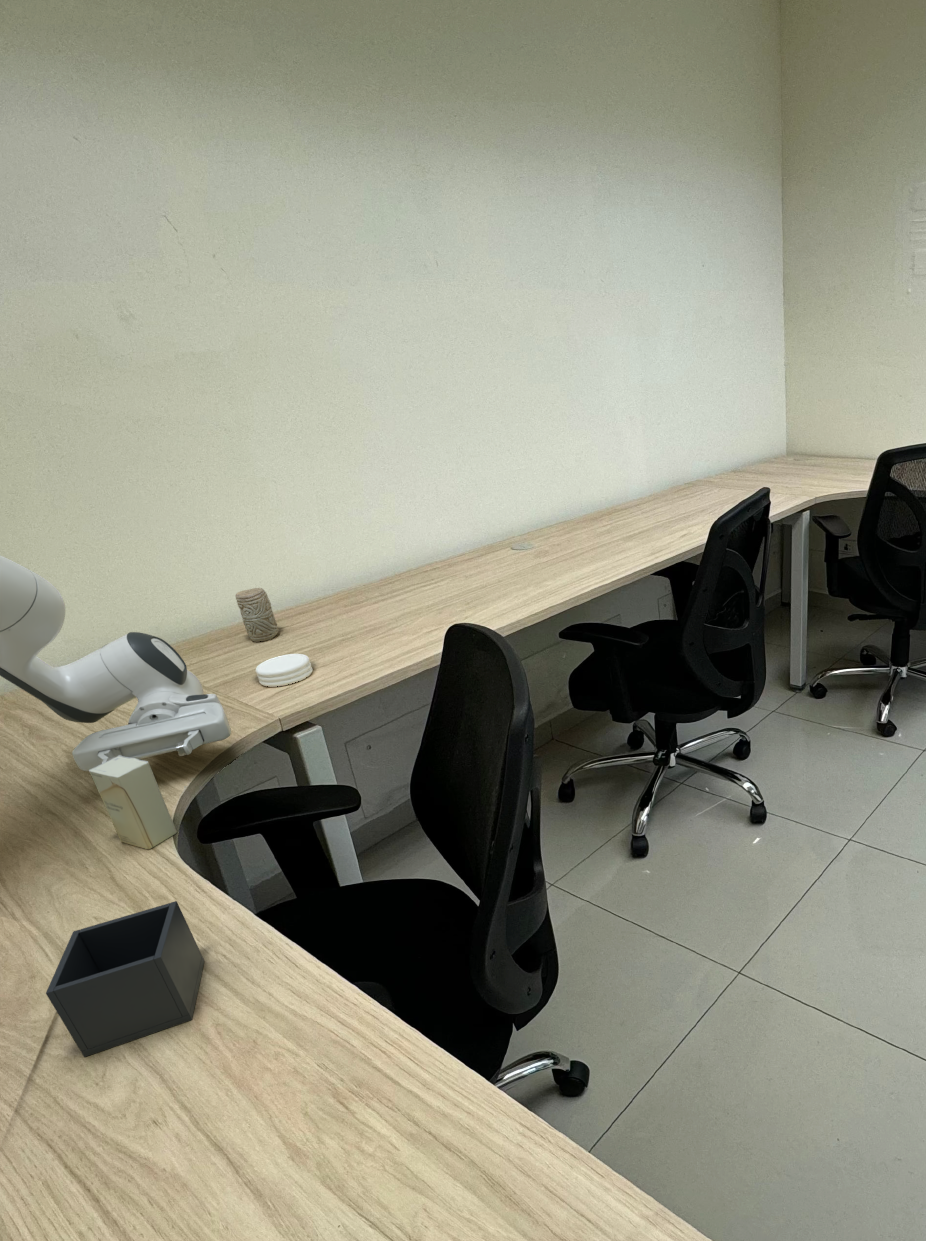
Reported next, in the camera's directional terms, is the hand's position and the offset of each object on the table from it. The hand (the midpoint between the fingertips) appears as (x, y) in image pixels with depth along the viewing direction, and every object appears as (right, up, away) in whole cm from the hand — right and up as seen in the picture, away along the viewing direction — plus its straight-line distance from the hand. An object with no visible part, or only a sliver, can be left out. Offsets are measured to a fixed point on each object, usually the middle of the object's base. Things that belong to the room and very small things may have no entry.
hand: (146, 759), depth 115 cm
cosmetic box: (+5, -11, -6) cm, 13 cm away
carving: (-24, +21, +67) cm, 74 cm away
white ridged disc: (-5, +12, +44) cm, 46 cm away
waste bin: (+27, -22, -34) cm, 49 cm away
